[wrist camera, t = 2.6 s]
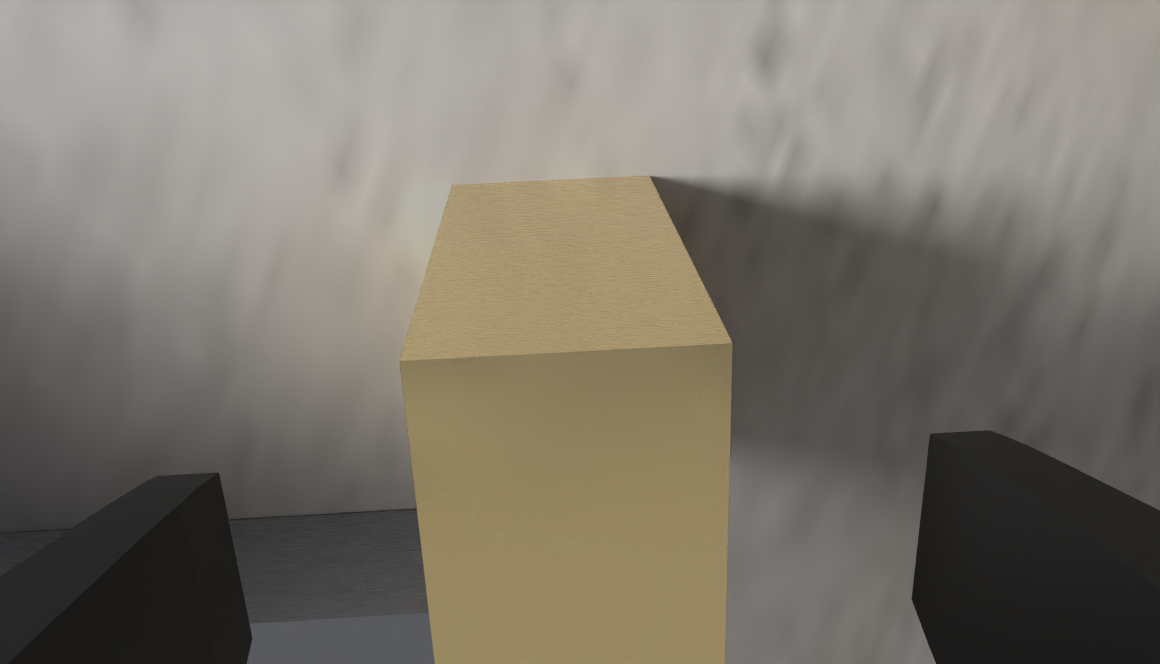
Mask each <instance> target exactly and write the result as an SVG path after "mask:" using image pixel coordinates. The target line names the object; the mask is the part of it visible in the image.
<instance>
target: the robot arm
mask: <svg viewBox="0 0 1160 664" xmlns="http://www.w3.org/2000/svg"><path fill="white" fill-rule="evenodd" d="M912 601H913V604H914V607H915V609H916V612H917V615H918V617H919V620H920V623H921V625H922V628H923V631H924V633H925V636H926V639H927V641H928V644H929V647H930V649H931V652H932V654H933V657H934V659H935V661H936V664H1160V511H1159V510H1157V509H1155V508H1153V507H1151V506H1149V505H1147V504H1145V503H1143V502H1141V501H1139V500H1137V499H1135V498H1133V497H1131V496H1129V495H1127V494H1125V493H1123V492H1121V491H1119V490H1117V489H1115V488H1113V487H1111V486H1109V485H1107V484H1105V483H1103V482H1101V481H1099V480H1097V479H1095V478H1093V477H1091V476H1089V475H1087V474H1085V473H1083V472H1081V471H1079V470H1077V469H1075V468H1073V467H1071V466H1069V465H1067V464H1065V463H1063V462H1061V461H1059V460H1056V459H1054V458H1052V457H1050V456H1048V455H1046V454H1044V453H1042V452H1040V451H1038V450H1036V449H1033V448H1031V447H1029V446H1027V445H1025V444H1022V443H1020V442H1018V441H1015V440H1013V439H1011V438H1008V437H1006V436H1003V435H1000V434H998V433H995V432H992V431H971V432H953V433H935V434H930V440H929V449H928V458H927V467H926V476H925V485H924V494H923V502H922V511H921V520H920V529H919V538H918V547H917V556H916V565H915V574H914V583H913V592H912ZM252 639H253V638H252V633H251V628H250V623H249V618H248V613H247V608H246V604H245V599H244V594H243V589H242V584H241V579H240V574H239V569H238V564H237V559H236V554H235V550H234V545H233V540H232V535H231V530H230V525H229V520H228V515H227V510H226V505H225V501H224V496H223V491H222V486H221V481H220V476H219V473H206V474H187V475H169V476H157V477H155V478H153V479H151V480H149V481H147V482H145V483H144V484H142V485H140V486H138V487H136V488H135V489H133V490H131V491H130V492H128V493H126V494H125V495H123V496H121V497H120V498H118V499H117V500H115V501H114V502H112V503H110V504H109V505H107V506H106V507H104V508H103V509H101V510H100V511H98V512H97V513H95V514H93V515H92V516H90V517H89V518H87V519H86V520H84V521H83V522H81V523H80V524H78V525H77V526H75V527H74V528H72V529H71V530H69V531H68V532H66V533H65V534H63V535H62V536H60V537H59V538H57V539H56V540H54V541H53V542H51V543H50V544H48V545H47V546H45V547H44V548H42V549H41V550H39V551H38V552H36V553H35V554H33V555H32V556H30V557H29V558H27V559H26V560H24V561H22V562H21V563H19V564H18V565H16V566H15V567H13V568H12V569H10V570H9V571H7V572H6V573H4V574H3V575H1V576H0V664H247V660H248V656H249V652H250V647H251V643H252Z"/></svg>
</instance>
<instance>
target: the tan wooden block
mask: <svg viewBox="0 0 1160 664" xmlns="http://www.w3.org/2000/svg"><path fill="white" fill-rule="evenodd" d="M732 351H733V343H732V341H731V339H730V337H729V335H728V333H727V331H726V329H725V327H724V325H723V323H722V321H721V319H720V317H719V315H718V313H717V311H716V309H715V307H714V305H713V303H712V301H711V299H710V297H709V295H708V292H707V290H706V288H705V286H704V284H703V282H702V280H701V278H700V276H699V274H698V272H697V270H696V268H695V266H694V264H693V262H692V260H691V258H690V256H689V254H688V252H687V250H686V248H685V246H684V244H683V242H682V240H681V238H680V236H679V234H678V232H677V230H676V228H675V226H674V224H673V222H672V220H671V218H670V216H669V214H668V212H667V210H666V208H665V206H664V204H663V202H662V200H661V198H660V196H659V194H658V192H657V190H656V188H655V186H654V184H653V182H652V180H651V178H650V176H636V177H615V178H594V179H573V180H552V181H531V182H510V183H489V184H469V185H452V186H451V190H450V193H449V197H448V200H447V203H446V207H445V210H444V213H443V217H442V220H441V223H440V227H439V230H438V233H437V237H436V240H435V244H434V247H433V250H432V254H431V257H430V260H429V264H428V267H427V270H426V274H425V277H424V281H423V284H422V287H421V291H420V294H419V297H418V301H417V304H416V307H415V311H414V314H413V317H412V321H411V324H410V328H409V331H408V334H407V338H406V341H405V344H404V348H403V351H402V354H401V358H400V369H401V378H402V386H403V395H404V403H405V412H406V421H407V429H408V438H409V446H410V455H411V464H412V472H413V481H414V489H415V498H416V507H417V515H418V524H419V532H420V541H421V549H422V558H423V567H424V575H425V584H426V592H427V601H428V610H429V618H430V627H431V635H432V644H433V653H434V661H435V664H725V643H726V601H727V559H728V518H729V476H730V435H731V393H732Z"/></svg>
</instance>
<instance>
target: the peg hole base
mask: <svg viewBox="0 0 1160 664" xmlns="http://www.w3.org/2000/svg"><path fill="white" fill-rule="evenodd" d="M229 525H230V530H231V535H232V540H233V545H234V550H235V554H236V559H237V564H238V569H239V574H240V579H241V584H242V589H243V594H244V599H245V604H246V608H247V613H248V618H249V623H250V628H251V633H252V638H253V639H252V643H251V647H250V652H249V656H248V660H247V664H435V661H434V653H433V644H432V635H431V627H430V618H429V610H428V601H427V592H426V584H425V575H424V567H423V558H422V549H421V541H420V532H419V524H418V515H417V509H415V510H398V511H381V512H364V513H347V514H329V515H312V516H295V517H278V518H261V519H244V520H229ZM68 531H69V530H56V531H39V532H22V533H4V534H0V576H1V575H3V574H4V573H6V572H7V571H9V570H10V569H12V568H13V567H15V566H16V565H18V564H19V563H21V562H22V561H24V560H26V559H27V558H29V557H30V556H32V555H33V554H35V553H36V552H38V551H39V550H41V549H42V548H44V547H45V546H47V545H48V544H50V543H51V542H53V541H54V540H56V539H57V538H59V537H60V536H62V535H63V534H65V533H66V532H68Z"/></svg>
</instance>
